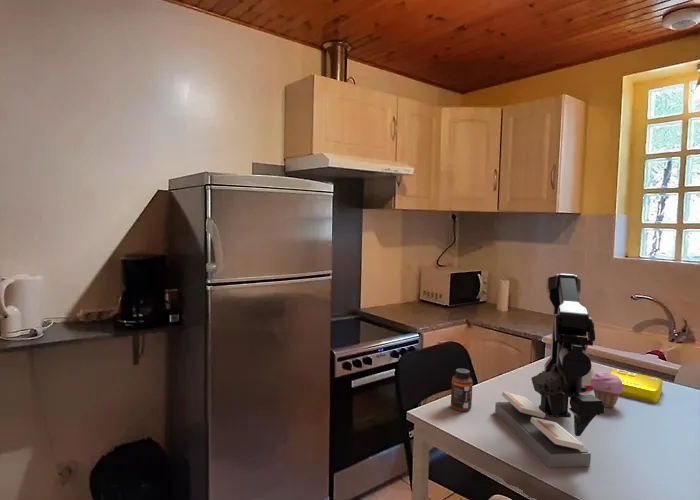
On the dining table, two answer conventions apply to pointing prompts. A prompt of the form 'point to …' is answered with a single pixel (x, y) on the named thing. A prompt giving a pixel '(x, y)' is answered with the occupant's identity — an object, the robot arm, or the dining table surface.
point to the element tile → (639, 385)
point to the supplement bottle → (461, 390)
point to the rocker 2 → (557, 433)
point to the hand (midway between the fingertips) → (565, 426)
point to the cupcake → (607, 387)
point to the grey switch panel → (541, 439)
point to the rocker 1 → (523, 404)
